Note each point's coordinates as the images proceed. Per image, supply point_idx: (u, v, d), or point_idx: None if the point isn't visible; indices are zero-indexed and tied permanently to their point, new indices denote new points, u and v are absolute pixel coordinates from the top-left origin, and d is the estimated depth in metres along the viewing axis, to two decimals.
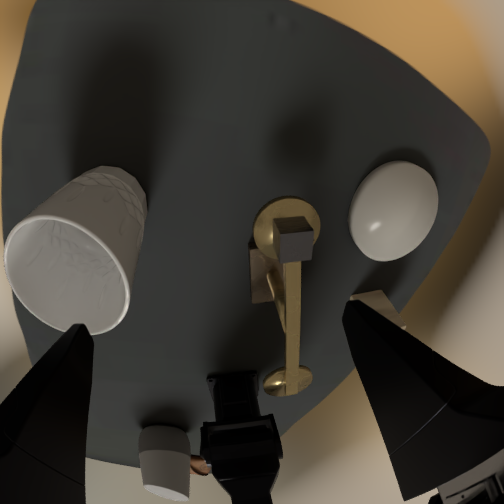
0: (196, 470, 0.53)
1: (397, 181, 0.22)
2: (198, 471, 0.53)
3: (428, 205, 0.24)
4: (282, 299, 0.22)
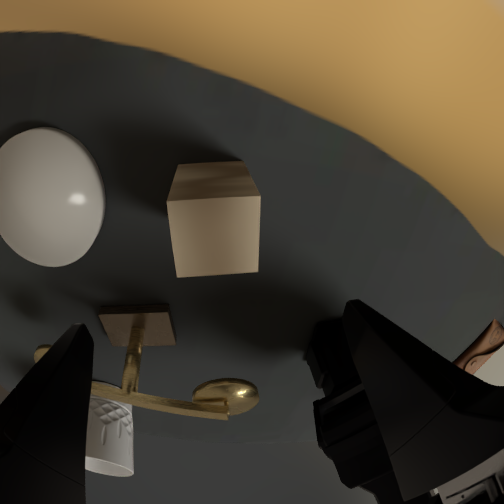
0: (492, 348, 0.37)
1: (7, 223, 0.15)
2: (495, 346, 0.37)
3: (15, 157, 0.13)
4: (125, 368, 0.19)
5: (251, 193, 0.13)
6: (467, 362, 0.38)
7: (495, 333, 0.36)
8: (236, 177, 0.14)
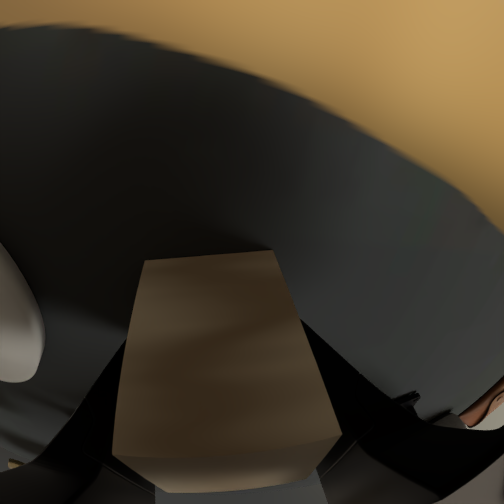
0: None
1: None
2: None
3: None
4: None
5: (318, 423, 0.04)
6: (494, 398, 0.30)
7: None
8: (270, 332, 0.06)
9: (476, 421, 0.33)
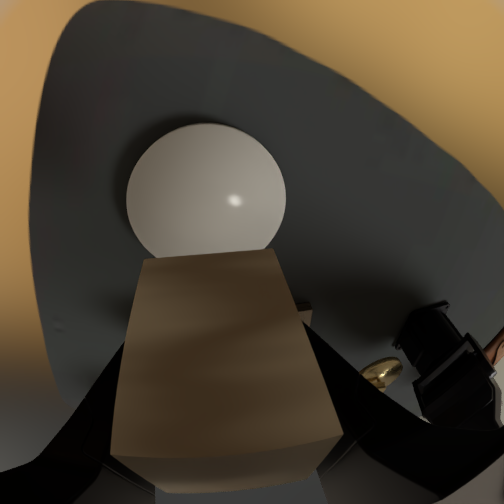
0: None
1: (154, 226, 0.18)
2: None
3: (185, 151, 0.15)
4: None
5: (319, 423, 0.04)
6: (499, 345, 0.39)
7: None
8: (270, 331, 0.06)
9: None
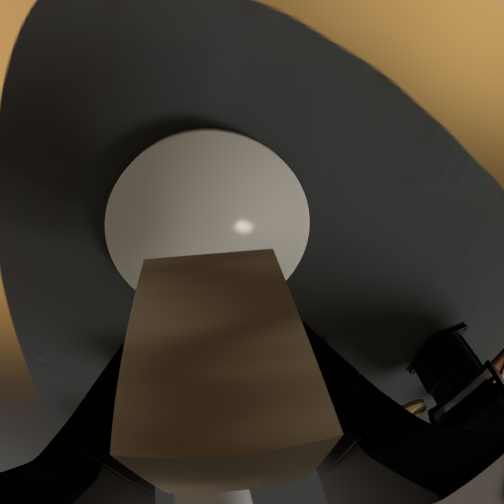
0: None
1: (142, 262, 0.14)
2: None
3: (179, 168, 0.12)
4: None
5: (319, 423, 0.04)
6: None
7: None
8: (270, 331, 0.06)
9: None
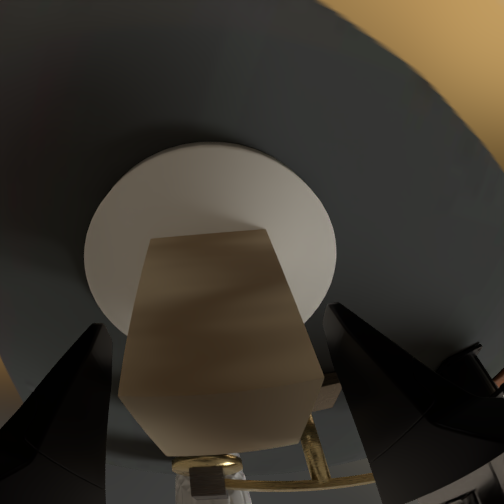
0: None
1: (132, 307, 0.11)
2: None
3: (173, 197, 0.09)
4: (304, 452, 0.15)
5: (302, 367, 0.05)
6: None
7: None
8: (261, 293, 0.07)
9: None
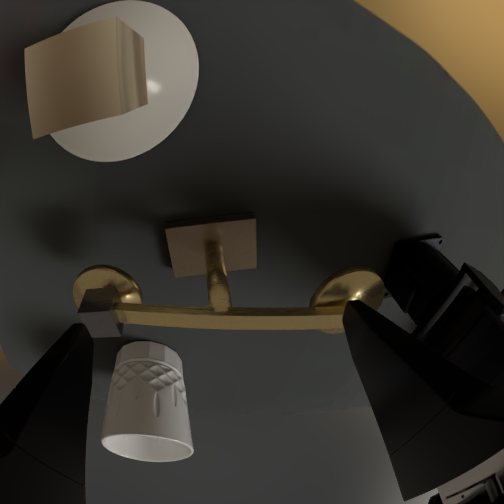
0: None
1: None
2: None
3: None
4: (207, 287, 0.17)
5: (109, 19, 0.07)
6: None
7: None
8: None
9: None
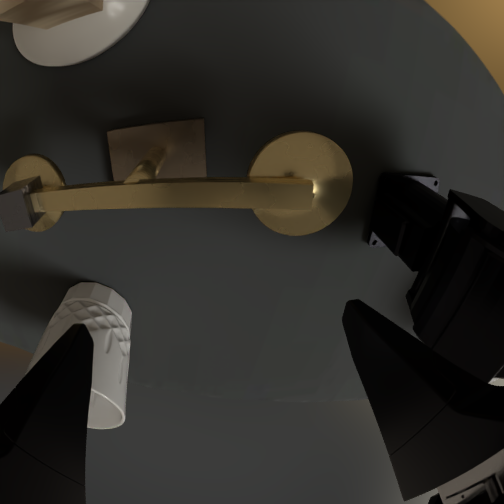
0: None
1: (29, 26, 0.09)
2: None
3: None
4: None
5: None
6: None
7: None
8: None
9: None
